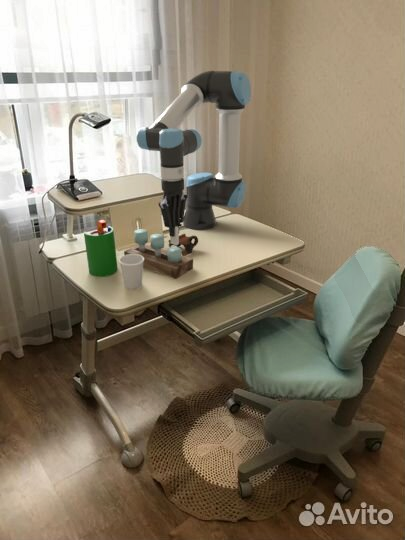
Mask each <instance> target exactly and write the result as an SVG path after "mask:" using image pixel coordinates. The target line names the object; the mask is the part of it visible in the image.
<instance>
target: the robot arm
mask: <svg viewBox="0 0 405 540" xmlns="http://www.w3.org/2000/svg"><path fill="white" fill-rule="evenodd" d="M251 88H252V86H251V82H250V78H249V76H248V75H247V74H246V73H245V72H242V71H236V70H207V71H204V72H201V73H199V74H197V75H196V76H194V77H192V78H191V79H190V80H188V81H187V82H186V83H185V84H184V85H183V86H182V87H181V92H180V94H178V96H177V97H176V98H175V99H174V100H173V101H172V102H171V103H170V105H169V106H168V107H167V108H166V109H165V110H164V111H163V112H162V114H161V115H159V117H158V118H157V119H156V120H155V121H154V123H153V124H152V125H151V126H150V127H148V126H145V127H143V126H142V127H139V129H138V131H137V133H136V143H137V146H138V147H139V148H140V149H142V150H145V151H149V152H150V151H154V152H159V155H160V157H159V158H160V178H161V181H160V182H161V183H160V184H161V191H163V196H162V198H163V199H162V201H161V202H160V201H159V202H158V206H159V208H160V212H161V216H162V220H163V225H164V227H165V228H169V229H168V230H169V233H168V234H169V237H170V238H169V240H170V243H171V244H174V245H178V244H179V236H180V227H182V226H185V227H186V228H188V229H191V230H207V229H211V228H213V227H215V226H216V225H217V219H216V215H215V213H214V208H213V206H218V207H223V208H224V207H225V208H228V209H230V208H233V209H237V208H239V207H241V205H242V204H243V202H244V200H245V197H246V193H247V187H248V185H247V183H246V181H243V175H242V174H241V173H240V172H239V171H240V146H241V145H240V144H241V121H242V120H241V118H242V117H241V116H242V115H241V114H242V113H243V111H244V110H245V108H246V107H245V106H247V105H248V104H249V103H250V101H251V97H252V96H251V95H252V89H251ZM206 103H212V104H215V110H216V111H217V112H218V115H219V116H218V126H219V127H218V170H217V171H218V172H217V173H216V174H215V175H214V174H213V173H211V172H197V173H193V174H190V175H189V176H187V178H186V185H185V179H184V175H185V174H184V173H185V172H184V165H185V164H184V163H185V162H184V159H185V156H187V155H190V154H193V153H195V152H196V151H198V150H199V149H200V148H201V146H202V143H203V141H202V136H201V134H200V133H199V131H197V130H196V129H191V128H190V129H185V130H182V129H180V126H181V125H182V124H183V122H185V121H186V120H187V118H188V117H189V116H190V115H191V113H192V112H193V111H194V110H195V109H196V108H199V107H201V106H202V105H203V104H206ZM185 187H186V189H185ZM183 190H186V193H184V192H183ZM174 245H173V246H174Z"/></svg>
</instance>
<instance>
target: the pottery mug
mask: <svg viewBox="0 0 405 540" xmlns="http://www.w3.org/2000/svg"><path fill="white" fill-rule="evenodd" d="M193 240H194V241H193ZM192 241H193V242H192ZM167 242H168V243H169V244H168V247H169V248H171V247H172V246H173V247H179V248H181V246H182V247H184V249H183V250H181V254H182V256H185V257H187V255H191V254H192V253H193V251H194V250H193V249H194V248H195V247H196V246H197V245H198V243H199V238H198V236H196V235H190V236H187V235H186V233H183V234H179V244H178V245H174V244H171V243H170V239H169V240H168V241H167Z"/></svg>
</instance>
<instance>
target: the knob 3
mask: <svg viewBox="0 0 405 540" xmlns="http://www.w3.org/2000/svg"><path fill="white" fill-rule="evenodd" d="M181 251H182V248H181V247H177V246H171V247H169V248H167V253H168V261H169V262H171V263H176V264H178V262H180V261H181V260H182V253H181Z"/></svg>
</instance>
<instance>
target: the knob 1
mask: <svg viewBox="0 0 405 540" xmlns="http://www.w3.org/2000/svg"><path fill="white" fill-rule="evenodd" d="M133 236H134V239H133V240H134V244H137V245H138V246H139V251H140V252H145V244H148V242H149V234H148V230H147V229H145V228H139V229H136V230H134V231H133Z"/></svg>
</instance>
